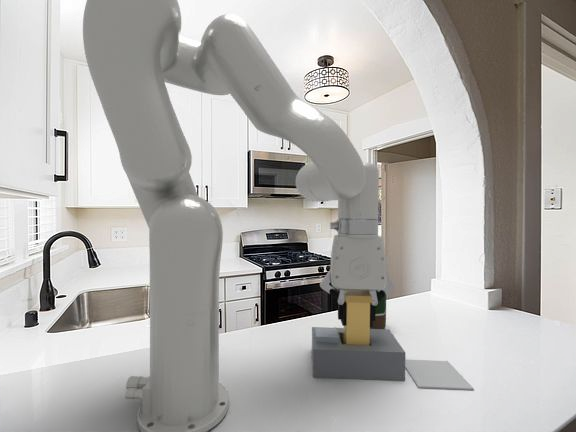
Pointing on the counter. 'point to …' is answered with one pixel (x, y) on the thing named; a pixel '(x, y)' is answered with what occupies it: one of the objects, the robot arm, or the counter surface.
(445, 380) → the mat
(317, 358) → the grey block with hole
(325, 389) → the counter surface
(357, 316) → the plug
